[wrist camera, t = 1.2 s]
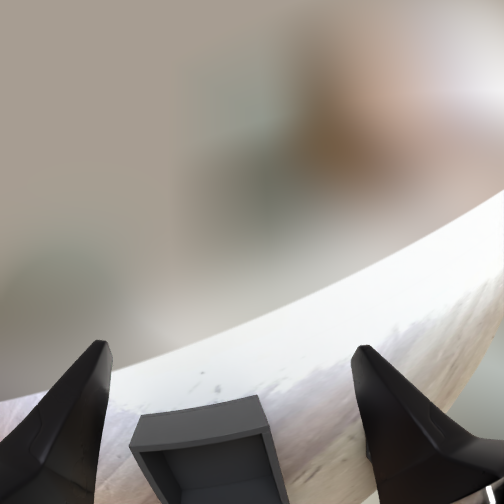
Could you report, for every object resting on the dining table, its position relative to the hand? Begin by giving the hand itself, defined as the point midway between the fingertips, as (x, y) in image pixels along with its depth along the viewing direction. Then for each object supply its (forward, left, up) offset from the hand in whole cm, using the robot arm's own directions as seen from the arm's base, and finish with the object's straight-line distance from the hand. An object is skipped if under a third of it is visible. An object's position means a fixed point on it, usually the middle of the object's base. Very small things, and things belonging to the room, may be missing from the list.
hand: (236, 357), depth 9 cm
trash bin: (-15, +4, -15) cm, 22 cm away
